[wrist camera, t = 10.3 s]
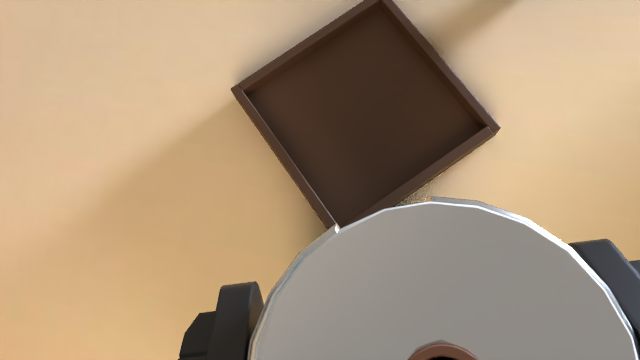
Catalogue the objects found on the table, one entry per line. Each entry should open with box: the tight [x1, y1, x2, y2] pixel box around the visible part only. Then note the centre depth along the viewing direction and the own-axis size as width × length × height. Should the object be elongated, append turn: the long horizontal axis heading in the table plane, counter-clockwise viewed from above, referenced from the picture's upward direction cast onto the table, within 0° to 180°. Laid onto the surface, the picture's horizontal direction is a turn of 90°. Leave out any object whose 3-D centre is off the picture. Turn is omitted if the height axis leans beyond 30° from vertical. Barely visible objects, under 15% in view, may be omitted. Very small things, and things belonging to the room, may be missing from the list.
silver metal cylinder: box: [247, 196, 640, 360], centre depth 19 cm, size 6×6×25 cm
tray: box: [231, 0, 500, 229], centre depth 45 cm, size 17×17×2 cm
